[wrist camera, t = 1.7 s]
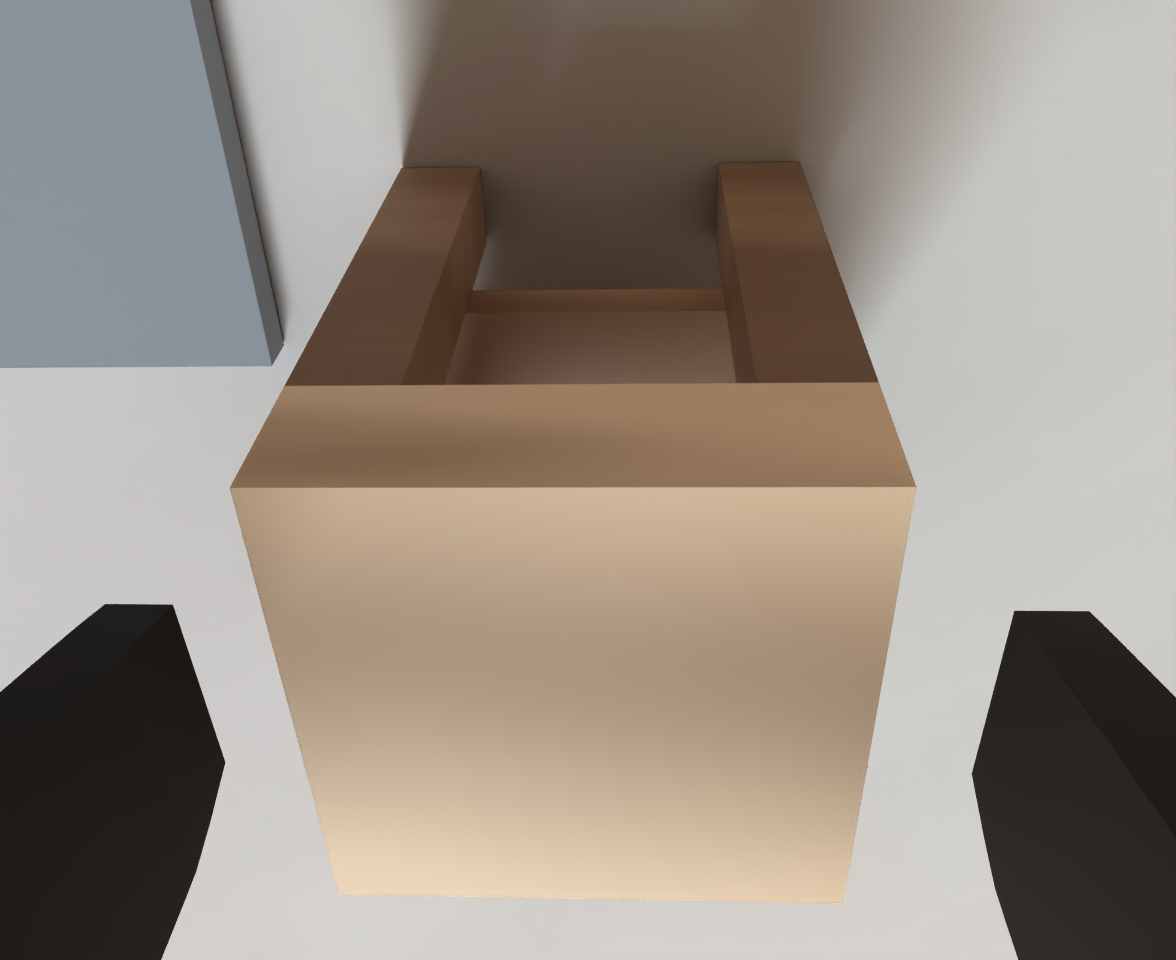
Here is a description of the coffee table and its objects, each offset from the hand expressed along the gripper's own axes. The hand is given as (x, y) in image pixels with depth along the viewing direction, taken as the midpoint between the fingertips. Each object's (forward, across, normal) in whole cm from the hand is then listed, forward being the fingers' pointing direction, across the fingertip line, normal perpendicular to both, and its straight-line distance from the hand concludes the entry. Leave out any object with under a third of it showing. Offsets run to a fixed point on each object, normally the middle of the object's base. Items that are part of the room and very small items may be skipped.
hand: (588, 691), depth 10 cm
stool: (+7, 0, 0) cm, 7 cm away
